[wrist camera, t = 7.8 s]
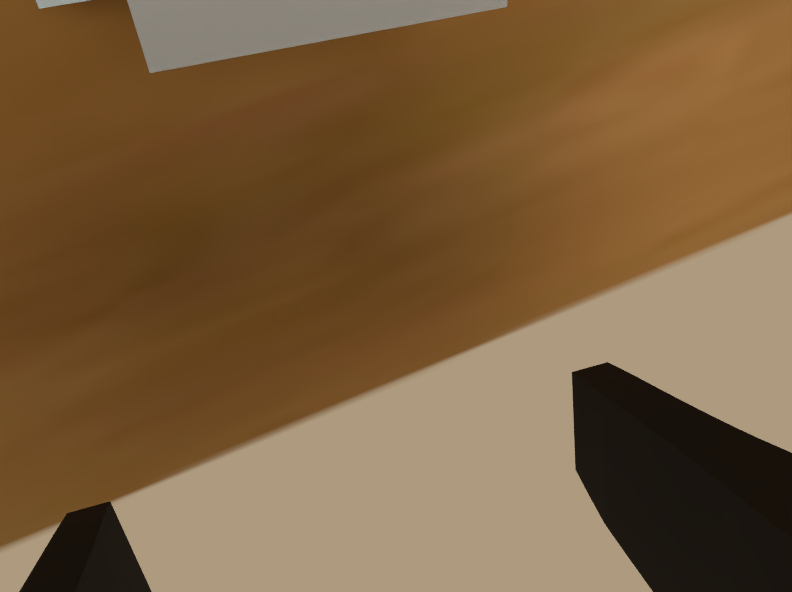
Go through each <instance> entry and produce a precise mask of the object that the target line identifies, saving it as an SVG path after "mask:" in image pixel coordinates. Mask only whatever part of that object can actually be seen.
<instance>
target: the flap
mask: <svg viewBox="0 0 792 592" xmlns="http://www.w3.org/2000/svg"><path fill="white" fill-rule="evenodd" d="M83 1H89V0H36V2H37V5H38V7H39V9H40V8H46V7H52V6H58V5H64V4H71V3H77V2H83Z"/></svg>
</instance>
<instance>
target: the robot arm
mask: <svg viewBox="0 0 792 592" xmlns="http://www.w3.org/2000/svg"><path fill="white" fill-rule="evenodd" d="M572 385H573V410H574V411H573V412H574V438H575V464H576V471H577V473H578V475H579V477H580V479H581V481H582V483H583V484H584V486H585V488H586V490H587V492H588V494H589V496H590V498H591V500H592V501H593V503H594V505H595V507H596V509H597V510H598V512H599V514H600V516H601V518H602V519H603V521H604V523H605V524H606V526H607V527H608V529H609V530H610V532H611V533H612V535H613V536H614V537H615V539H616V540H617V542H618V543H619V544H620V546H621V547H622V549H623V550H624V552H625V553H626V554H627V556H628V557H629V559H630V560H631V562H632V563H633V564H634V566H635V567H636V569H637V570H638V571H639V573H640V574H641V575H642V577H643V578H644V580H645V581H646V582H647V584H648V585H649V587H650V588H651V589H652V591H653V592H792V453H791V452H788V451H786V450H784V449H781V448H779V447H777V446H775V445H772V444H770V443H768V442H765V441H763V440H761V439H758V438H756V437H754V436H752V435H750V434H748V433H746V432H744V431H742V430H739V429H737V428H735V427H733V426H731V425H729V424H727V423H725V422H723V421H721V420H719V419H717V418H715V417H712V416H710V415H709V414H707V413H705V412H703V411H701V410H698V409H697V408H695V407H693V406H691V405H689V404H687V403H685V402H683V401H681V400H679V399H677V398H675V397H674V396H672V395H670V394H668V393H666V392H664V391H662V390H660V389H658V388H656V387H655V386H653V385H651V384H649V383H647V382H645V381H643V380H641V379H639V378H638V377H636V376H634V375H632V374H630V373H628V372H626V371H624V370H622V369H620V368H618V367H616V366H614V365H612V364H610V363H608V362H607V363H603V364H600V365H596V366H593V367H589V368H586V369H582V370H579V371H575V372H572ZM19 592H151V590H150V588H149V585H148V583H147V581H146V579H145V577H144V574H143V572H142V570H141V568H140V566H139V563H138V561H137V559H136V557H135V555H134V553H133V550H132V548H131V546H130V544H129V542H128V540H127V537H126V535H125V533H124V531H123V529H122V527H121V524H120V522H119V520H118V518H117V516H116V513H115V511H114V509H113V507H112V505H111V502H106V503H103V504H99V505H96V506H92V507H88V508H85V509H81V510H78V511H74V512H70V513H67V514H66V516H65V517H64V519H63V521H62V522H61V524H60V525H59V527H58V528H57V530H56V532H55V534H54V535H53V537H52V538H51V540H50V542H49V543H48V545H47V547H46V548H45V550H44V552H43V553H42V555H41V557H40V558H39V560H38V562H37V563H36V565H35V567H34V568H33V570H32V572H31V574H30V575H29V577H28V578H27V580H26V582H25V583H24V585H23V587H22V588H21V590H20V591H19Z"/></svg>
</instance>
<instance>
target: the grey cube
mask: <svg viewBox="0 0 792 592" xmlns="http://www.w3.org/2000/svg"><path fill="white" fill-rule="evenodd" d="M127 1H128V5H129V8H130V11H131V14H132V17H133V21H134V24H135V27H136V30H137V34H138V37H139V40H140V43H141V46H142V50H143V53H144V56H145V59H146V62H147V66H148V69H149V72H150V73H154V72H159V71H164V70H170V69H175V68H180V67H186V66H191V65H197V64H202V63H207V62H213V61H218V60H224V59H229V58H234V57H240V56H245V55H250V54H256V53H261V52H267V51H272V50H277V49H283V48H288V47H294V46H299V45H304V44H310V43H315V42H321V41H326V40H331V39H337V38H342V37H347V36H353V35H358V34H364V33H369V32H374V31H380V30H385V29H391V28H396V27H401V26H407V25H412V24H417V23H423V22H428V21H434V20H439V19H444V18H450V17H455V16H461V15H466V14H471V13H477V12H482V11H488V10H493V9H498V8H504V7H507V0H127Z"/></svg>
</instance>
